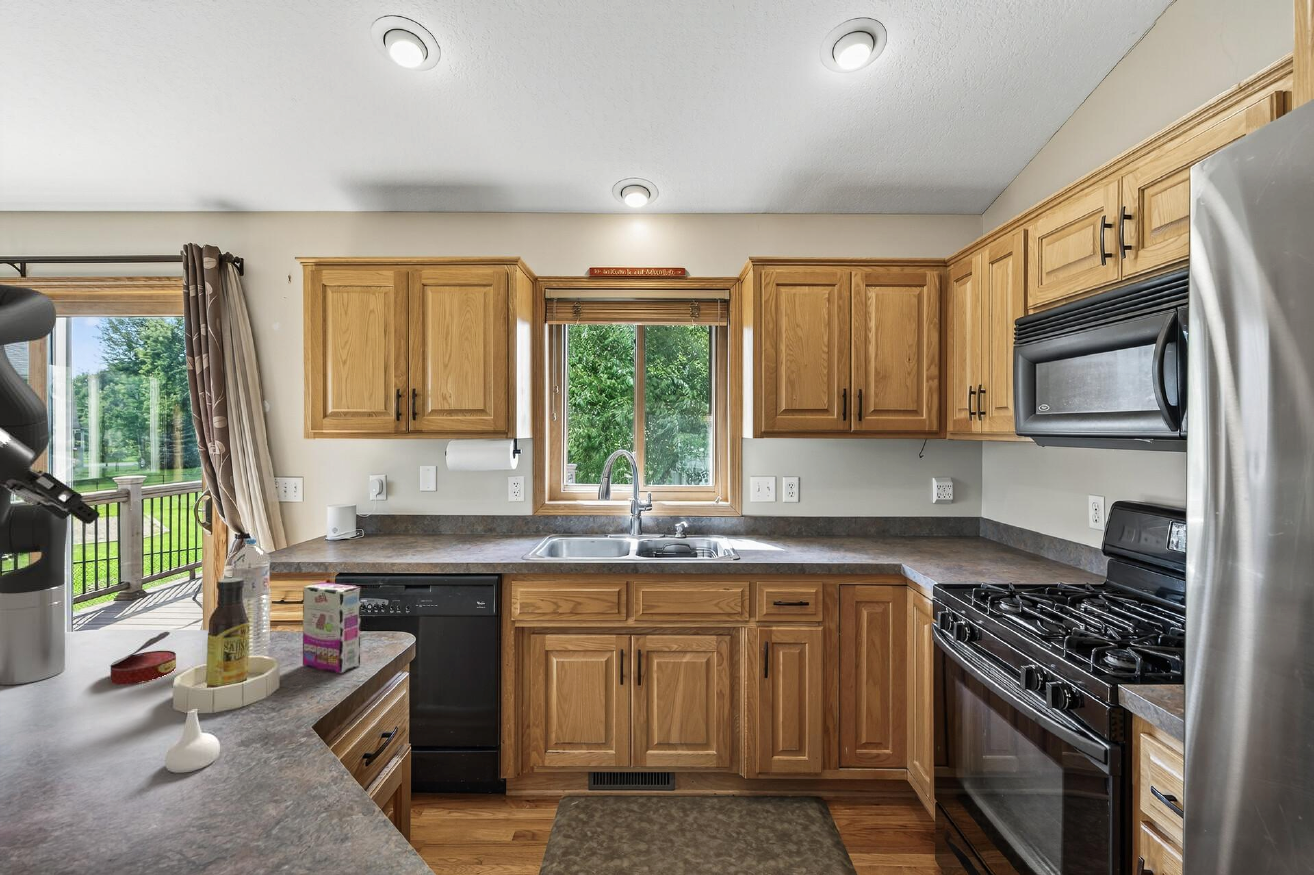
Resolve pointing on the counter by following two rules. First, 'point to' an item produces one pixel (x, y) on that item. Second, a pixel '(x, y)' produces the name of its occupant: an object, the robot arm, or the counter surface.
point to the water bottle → (255, 594)
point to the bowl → (225, 687)
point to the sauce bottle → (228, 637)
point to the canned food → (143, 664)
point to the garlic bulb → (192, 748)
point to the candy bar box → (331, 627)
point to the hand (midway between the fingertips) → (80, 517)
